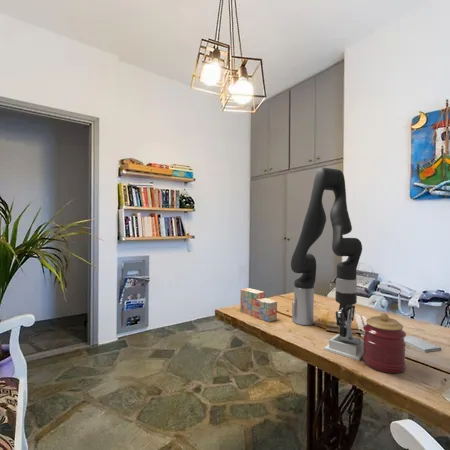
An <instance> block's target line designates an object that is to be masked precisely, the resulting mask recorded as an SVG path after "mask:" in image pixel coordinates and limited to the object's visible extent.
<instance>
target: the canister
mask: <svg viewBox="0 0 450 450" xmlns="http://www.w3.org/2000/svg"><path fill="white" fill-rule="evenodd" d="M365 322H366V324H365V325H363V328H362V329H363V330H364V334H363V337H362V338H363V341H364V352H363V357H362V358H363V362H364V364H366V365H367V366H368V367H370V368H371V369H374V370H376V371H379V372H383V373H388V374H398V373H402V372H403V371H405V368H406V363H407V361H406V346H407V344H406V343H405V341H404V337H406V336H407V333H406V332H405V330H403V329H404V325H403V324H402V323H400V322H399V321H398V320H397V319H394V318H391V317H389V315H388V314H387V313H386V312H385V313H384V312H382V313H380V316H379V315H377V316H371V317H370V318H368V319H366V320H365Z"/></svg>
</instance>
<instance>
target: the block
mask: <svg viewBox="0 0 450 450" xmlns="http://www.w3.org/2000/svg"><path fill="white" fill-rule="evenodd" d="M344 319H346V317H344ZM344 322H345V321H344ZM341 323H342V322H341ZM338 330H339V332H340V326H338ZM340 338H341V342H342V343H345V344H352V345H358V344H359V343H360V342H361V340H362V339H361V337H355V336H353V332H352V323H350V318H349V320H348V321H347V325H346V337H342V336H340Z"/></svg>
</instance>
